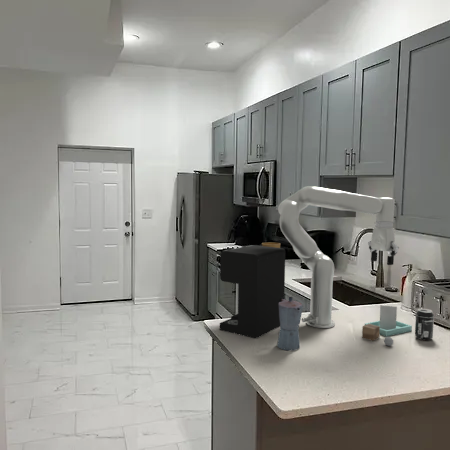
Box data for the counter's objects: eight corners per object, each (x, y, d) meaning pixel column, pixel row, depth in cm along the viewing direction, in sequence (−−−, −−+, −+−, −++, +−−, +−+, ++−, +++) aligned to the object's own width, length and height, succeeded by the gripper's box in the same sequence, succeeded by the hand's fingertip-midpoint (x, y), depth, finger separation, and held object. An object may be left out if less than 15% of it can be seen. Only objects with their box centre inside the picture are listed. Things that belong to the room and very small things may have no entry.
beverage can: (413, 335, 195) (415, 307, 194) (431, 336, 193) (432, 308, 192) (415, 340, 188) (417, 311, 187) (433, 342, 186) (435, 313, 185)
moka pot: (288, 355, 170) (290, 302, 168) (266, 342, 184) (267, 293, 182) (309, 351, 175) (311, 299, 173) (286, 338, 188) (287, 290, 186)
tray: (386, 336, 192) (386, 331, 192) (364, 328, 203) (364, 323, 203) (411, 330, 200) (411, 325, 200) (389, 323, 211) (389, 318, 210)
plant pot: (281, 262, 375) (281, 242, 374) (278, 265, 361) (278, 244, 359) (263, 261, 379) (263, 241, 378) (259, 263, 365) (260, 243, 364)
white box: (395, 330, 199) (396, 307, 198) (379, 328, 201) (380, 306, 200) (395, 328, 202) (396, 305, 201) (379, 326, 204) (380, 304, 204)
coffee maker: (252, 315, 222) (253, 243, 219) (288, 322, 211) (290, 246, 208) (218, 329, 199) (218, 249, 196) (256, 338, 188) (258, 254, 185)
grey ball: (388, 347, 179) (389, 339, 179) (381, 345, 182) (382, 336, 182) (395, 346, 181) (395, 337, 181) (387, 343, 184) (388, 335, 184)
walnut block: (373, 341, 187) (373, 329, 187) (362, 337, 191) (362, 326, 190) (379, 338, 191) (379, 326, 190) (368, 335, 194) (368, 323, 194)
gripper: (363, 223, 212) (361, 260, 213) (393, 227, 196) (390, 266, 198) (376, 223, 215) (373, 259, 217) (405, 226, 200) (403, 265, 201)
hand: (381, 262), depth 207 cm, fingers open, 9 cm apart
